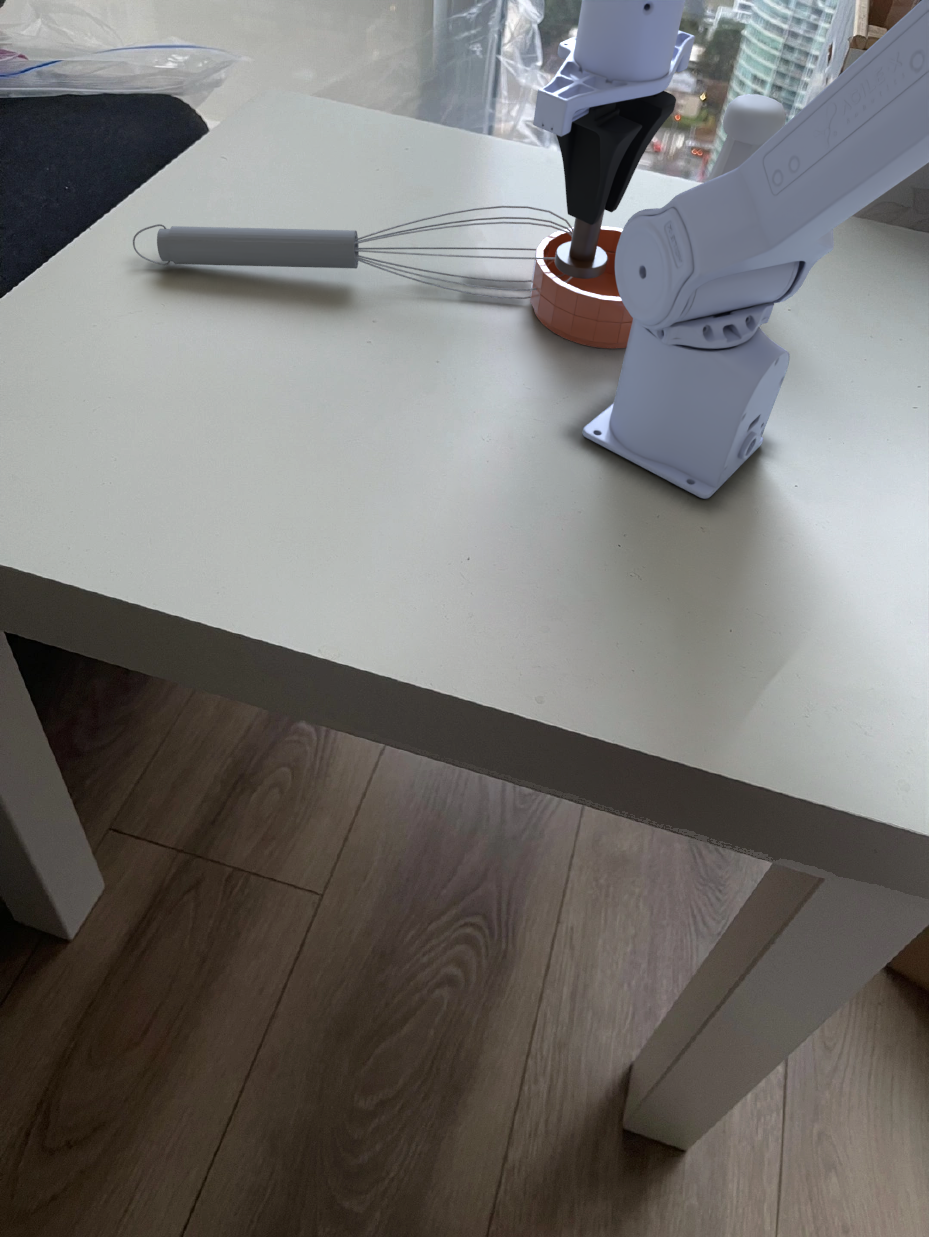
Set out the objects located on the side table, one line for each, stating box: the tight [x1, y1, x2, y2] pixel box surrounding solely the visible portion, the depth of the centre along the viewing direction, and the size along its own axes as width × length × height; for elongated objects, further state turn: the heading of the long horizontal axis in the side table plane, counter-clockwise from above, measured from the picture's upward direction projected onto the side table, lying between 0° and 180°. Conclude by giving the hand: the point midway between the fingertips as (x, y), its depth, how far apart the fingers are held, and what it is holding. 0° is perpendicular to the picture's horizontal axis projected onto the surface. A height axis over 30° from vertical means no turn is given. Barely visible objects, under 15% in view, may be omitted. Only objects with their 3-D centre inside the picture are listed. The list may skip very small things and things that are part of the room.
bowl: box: [529, 225, 633, 350], centre depth 71 cm, size 11×11×4 cm
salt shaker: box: [706, 93, 787, 182], centre depth 73 cm, size 6×6×13 cm
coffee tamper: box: [555, 205, 608, 279], centre depth 63 cm, size 4×4×9 cm
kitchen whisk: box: [132, 205, 573, 300], centre depth 71 cm, size 6×34×6 cm, turn 88°
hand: (592, 211), depth 63 cm, fingers closed on coffee tamper, 2 cm apart
